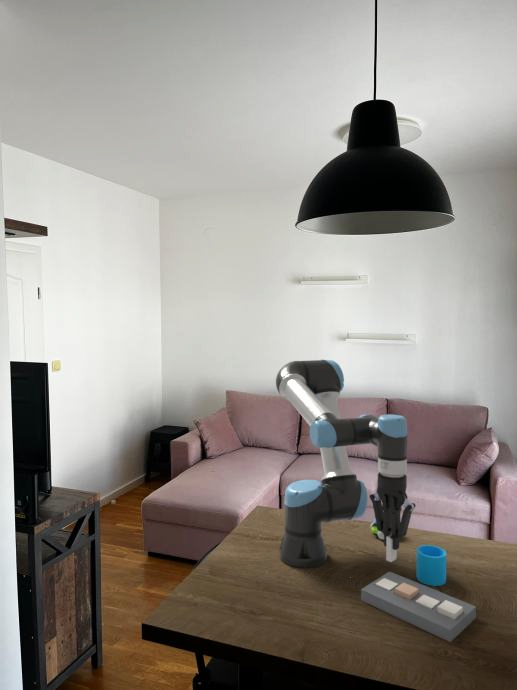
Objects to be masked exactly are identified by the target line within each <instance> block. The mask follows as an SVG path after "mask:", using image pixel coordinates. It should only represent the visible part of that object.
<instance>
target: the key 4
mask: <svg viewBox="0 0 517 690" xmlns="http://www.w3.org/2000/svg"><path fill="white" fill-rule="evenodd" d="M437 613H439V614H442V615H444V616H446V617H449V618H451V619H453V620H456V619H457V618H458V617H459V616H460V615H462V614H463V607H462V606H459V605H457V604H454V603H452V602H449V601H447V600H445V601H444V602H443V603H442V604H440V605H439V606H438V607H437Z"/></svg>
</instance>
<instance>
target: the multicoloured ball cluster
mask: <svg viewBox="0 0 517 690" xmlns="http://www.w3.org/2000/svg"><path fill="white" fill-rule="evenodd" d="M370 531H371V532H372V533H373V534H376V535H377V537H378V539H379V540H383V541H384V534H383V533H382V532H381V531H378V529H377V524H376V519H374V520H373V522H372V523H371V524H370Z"/></svg>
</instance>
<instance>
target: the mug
mask: <svg viewBox="0 0 517 690" xmlns="http://www.w3.org/2000/svg"><path fill="white" fill-rule="evenodd" d="M416 579H417V580H418V581H419V582H420V583H422V584H423V585H426V586H427V585H428V586H434V587H435V586H442V585H445V584H446V582H447V552H446V550H445V549H444V548H441V547H440V546H436V545H431V544H423V545H420V546H417V549H416Z"/></svg>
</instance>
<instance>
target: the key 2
mask: <svg viewBox="0 0 517 690" xmlns="http://www.w3.org/2000/svg"><path fill="white" fill-rule="evenodd" d="M395 594H396V595H398V596H401V597H403V598H405V599H407V600H412V599H413V598H414V597H416V596H417V595H418V588H416V587H413V586H411V585H408V584H406V583H402V584H401V585H399V586H398V587H396V588H395Z"/></svg>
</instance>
